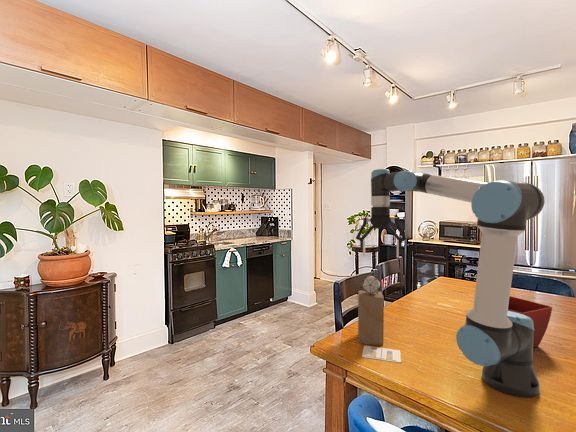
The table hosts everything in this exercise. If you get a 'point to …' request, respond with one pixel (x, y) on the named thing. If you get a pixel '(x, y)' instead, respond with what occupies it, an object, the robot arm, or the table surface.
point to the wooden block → (370, 318)
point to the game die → (371, 284)
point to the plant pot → (532, 315)
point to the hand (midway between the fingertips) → (380, 256)
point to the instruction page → (382, 354)
